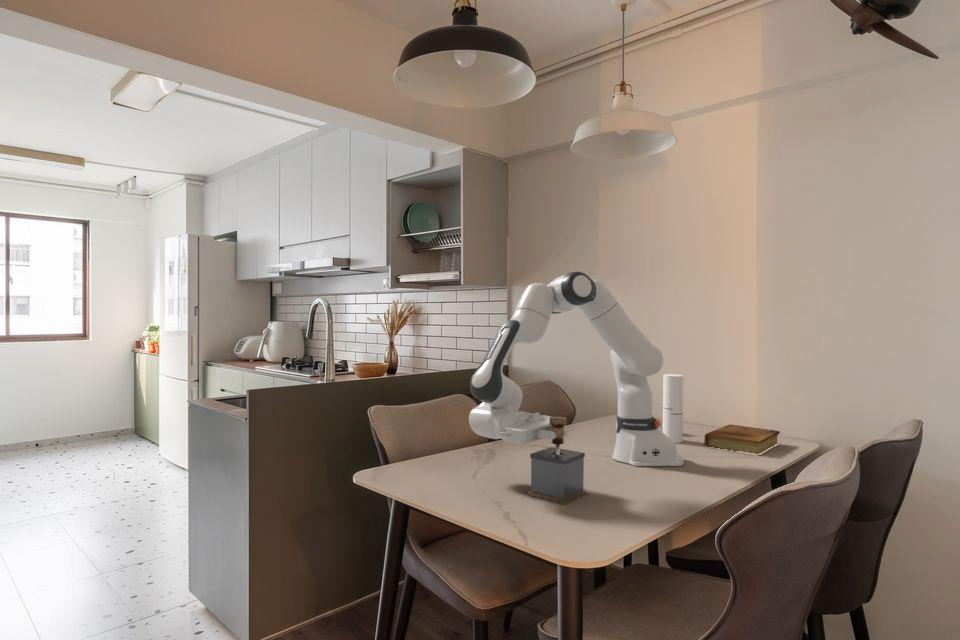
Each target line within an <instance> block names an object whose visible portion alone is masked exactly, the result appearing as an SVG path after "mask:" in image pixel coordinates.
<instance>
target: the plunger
mask: <svg viewBox="0 0 960 640" xmlns="http://www.w3.org/2000/svg"><path fill="white" fill-rule="evenodd" d="M550 425H552V431H556V432H557V438H555V439H551V444H553V445H555V447H554V448H555V454H556V455H560V449H561V445H563V444H564V442H565V438H564V437H565V436H564V429H565V426H567V417H565V416H550Z"/></svg>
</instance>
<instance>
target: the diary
mask: <svg viewBox="0 0 960 640" xmlns="http://www.w3.org/2000/svg"><path fill="white" fill-rule="evenodd" d="M780 433H781V432H780V430H775V429H773V430H772V429H767V428H766V429H765V428H760V427H752V426H744V425H738V424H737V425H736V424H731V423H730V424H727V425H725V426H722V427H720V428H719V427H718V428H717V429H714V430H711V431H710V432H709V431H708V432H707V433H705V434H704V447H705V446H707V447H714V448H720V449H727V450H733V451H743V452H749V453H755V454H759V453H761V452H763V451H765V450H766V449H768V448H770V447H772V446H774V445H775V444H777V443H778V435H779V434H780ZM707 447H706V448H707Z"/></svg>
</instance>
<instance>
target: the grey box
mask: <svg viewBox="0 0 960 640" xmlns="http://www.w3.org/2000/svg"><path fill="white" fill-rule="evenodd" d="M529 454H530V455H529V457H530V458H529V459H530V463H531V464H530V468H531V469H530V477H531V478H530V479H531V480H530V490H529V491H528V496H529V497H533V498H537V499H540V500H541V499H542V500H545V501H549V502H552V503H557V504H561V505H566V504H568V503H569V504H570V503H571V502H573V501H575V500H577V499H578V498H581V497H582V496H583V497H584V496H585V495H587V490H586V489H584V470H585V469H584V468H585V467H584V463H585V462H584V460H585V459H584V458H585V456H586V453H585V452H581V451H576V450H570V449H564V448H560V455H556V454H555V447H553V446H551V447H548V448H544V449H541V450H539V451H535V452H532V453H529Z"/></svg>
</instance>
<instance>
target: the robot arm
mask: <svg viewBox="0 0 960 640" xmlns="http://www.w3.org/2000/svg"><path fill="white" fill-rule="evenodd" d="M577 307H578V308H579V309H581V310H582V311H583V313H584V315H585V316H586V318H587V319H588V321H589V323H590V324H591V325H592V327H593V329H594V330H595V331H596V332H597V334H598V336H599V337H600V339H601V340H602V341H603V342H604V343H605V344H606V345H607V346H609V348H611V350H610V353H609V358H610V359H609V360H610V362H611V364H612V367H613V372H614V378H615V379H614V380H615V382H616V389H617V415H616V417H615V418H616V419H615V432H616V436H615V437H616V438H615V445H614V449H613V453H612V455H611V457H612V459H613V460H614V461H618V462H621V463H625V464H629V465H632V466H636V467H681V466H683V465H684V464H685V461H684V458H683V457H682V455H679V454H677V449H676V448H677V447H676V443H674V442H673V441H672V440H671V439H670V438H669V437H668V436H666V435H665V434H664V433H663V431H662V430H661V429H660V427H661V426H662V422H661V420H659V419H657V418H656V417H654V416H653V392H652V390H651V388H650V385H649V382H648V377H650V376H654V375H655V374H658V373H659V372H660V371H661V370H662V367H663V365H664V356H663V353H662V352H661V350H660V349H659V348H657V346H655V345H654V344H653V343H652V342H651V341H650V340H649V339H648V337H647V336H646V335H645V334H644V333H643V332H642V331H641V330H640V329H639V328H638V327H637V326H636V325H635V324H634V323H633V321H632V320H631V319H630V317H629V316H628V315H627V313H626V312H625V310H624V308H623V307H622V306H621V304H620V303H619V301H618V300H617V298H616V297H615V296H614V295H613V294H612V292H611V291H610V290H609V289H608V288H607V287H606V286H605V284H604V283H603V282H601V281H600V280H599V279H595V278H594V279H593V278H591V277H590V276H589V275H588V274H586V273H585V272H582V271H570V272H568V273H567V274H564V275H561V276H558V277H556V278H554V279H553V280H552V281H551V282H548V283H546V284H544V283H541V282H534V283H533V282H532V283H531V284H529V285H528V286H527V287H526V288H525V289H524V291H523V292H522V294H521V296H520V298H519V300H518V302H517V305H516V308H515V310H514V312H513V314H512V317H511V318H510V319H509V320H507V321H505V322H504V323H503V324H502V325H501V327H500V328H499V330H498V332H497V333H496V335H495V336H494V338H493V340H492V343H491V344H490V347H489V349H488V350H487V352H486V354H485V356H484V358H483V359H482V361H481V363H480V365H479V366H478V367H477V368H476V369H475V370H474V372H473V374H472V375H471V377H470V382H469V390H470V394H471V395H472V397H473V398H475V399H476V400H478V401H480V402H481V403H480V404H478V406H475V407H474V408H472V409H471V411H470V412H469V415H468V421H469V427H470V428H471V431H472V432H474V433H475V434H477V435H478V436H481V437H485V438H488V439H493V440H499V439H501V440H503V441H505V442H509V443H514V444H520V445H522V444H523V445H524V444H525V445H527V444H529V443H533V442H536V441H539V440H542V439H545V440H546V439H551V440H552V439H555V438H557V432H556V431H552V425H550V417H551V416H549V415H546V414H540V412H537V411H527V412H526V411H521V410H520V408H521V405H522V403H523V401H524V400H523V399H524V392H523V389H522V387H521V386H520V385H519V384H517V383H516V382H515V381H513V380H512V379H511V378H509V377H508V376H506V375H505V374H504V373H503V369H504V366H505V363H506V361H507V359H508V358H509V356H510V353H511V352H512V349H513V348H514V347H515V345H517V344H524V345H525V344H526V345H530V344H535V343H537V342H539V341H541V340H542V338H543V337H544V335H545V334H546V332H547V329H548V325H549V323H550V319H551V316H552V314H553V315H555V314H557V315H558V314H561V313H564V312H568V311H571V310H572V311H573V309H575V308H577ZM567 434H568V433H567V429H566V428H564V437H565V436H567Z"/></svg>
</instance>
